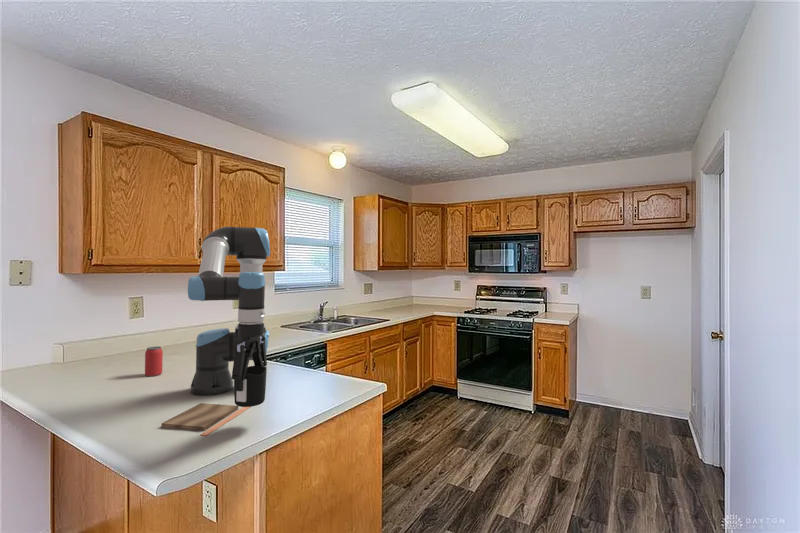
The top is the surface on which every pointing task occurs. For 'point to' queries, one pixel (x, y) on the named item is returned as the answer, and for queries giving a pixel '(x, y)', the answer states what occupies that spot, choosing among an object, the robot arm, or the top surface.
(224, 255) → the robot arm
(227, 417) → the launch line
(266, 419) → the top surface
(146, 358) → the beer can
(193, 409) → the board
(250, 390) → the pen holder
